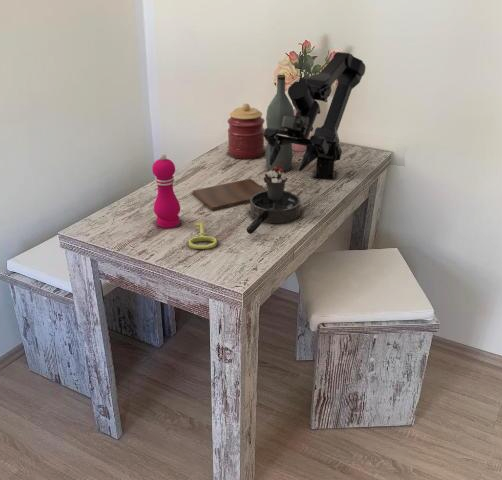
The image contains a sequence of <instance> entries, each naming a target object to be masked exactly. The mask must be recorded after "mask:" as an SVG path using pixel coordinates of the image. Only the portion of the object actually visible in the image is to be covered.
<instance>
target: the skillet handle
mask: <svg viewBox="0 0 502 480" xmlns="http://www.w3.org/2000/svg"><path fill="white" fill-rule="evenodd" d="M267 217H268V212H267V211H263V212H262V213H261V214H260V215H259V216H258V217H257V218H256V219H255V218H254V219H253V221H252V222H251V223H250V224H249V225H248V226H247V228H246V233H247V234H249V235H252V234H253V233H255V232H256V230H257V229H258V228H259V227H260V226H261V225H262V224H263V223H264V222H263V221H264V220H265V219H266V218H267Z"/></svg>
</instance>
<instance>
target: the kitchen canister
mask: <svg viewBox="0 0 502 480" xmlns="http://www.w3.org/2000/svg"><path fill="white" fill-rule="evenodd" d="M229 116H230V117H229V118H228V119H227V123H228V129H227V134H228V135H227V137H228V138H227V140H228V141H227V143H228V146H227V151H228V154H229V156H231V157H234V158H236V159H246V160H248V159H249V160H250V159H255V158H259V157H261V156H263V155H264V151H265V145H264V144H265V137H264V136H263V133H264V130H265V128H264V123H265V121H266V119H264V118H263V117H262V116H263V112H262V111H260V110H259V109H258V108H255V107H250V104H249V103H243V104H242V106H241V107H237V108H234V109H233V110H232V111H230V113H229Z"/></svg>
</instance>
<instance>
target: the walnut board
mask: <svg viewBox="0 0 502 480" xmlns="http://www.w3.org/2000/svg"><path fill="white" fill-rule="evenodd" d="M262 191H267V189H266V188H264V187H262V186H261V185H260V184H258V183H257V182H255V181H254V180H252V179H251V178H247V179H243V180H238V181H232V182H228V183H223V184H219V185H214V186H213V185H212V186H209V187H208V186H207V187H203V188H198V189H193V190H192V194H193V195H194V197H196V198H197V199H198V200H200V202H202V203H203V204H204V205H206V207H207V208H209V209H210V210H211V211H217V210H221V209H225V208H231V207H235V206H238V205H239V206H240V205H243V204H248V203H250V199H251V197H252V196H253V195H255V194H256V193H259V192H262Z"/></svg>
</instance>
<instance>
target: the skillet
mask: <svg viewBox="0 0 502 480" xmlns="http://www.w3.org/2000/svg"><path fill="white" fill-rule="evenodd" d="M301 202H302V200H301V198H300V197H299V196H298V195H297V194H295V193H293V192H290V191H287V190H284V191H283V196H282V198H281V199H280V200H278V201H277V207H278V208H279V209H282V210H268V209H270V208H273V201H272V200H271V199H270V198H269V197H268V191H262V192H259V193H256V194H255V195H253V196H252V197H251V199H250V202H249V213H250V216H251V217H252V218H253V219H254V220H255V219H256V218H257V217H258V216H259V215H260V214H261V213H262V212H263V211H267V212H268V217H267V218H266V219H265V220H264V221H263V223H267V224H268V223H269V224H284V223H288V222H289V223H290V222H292V221H294V220H296V219H297V218H298V217H299V216H300V214H301V204H302V203H301Z"/></svg>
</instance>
